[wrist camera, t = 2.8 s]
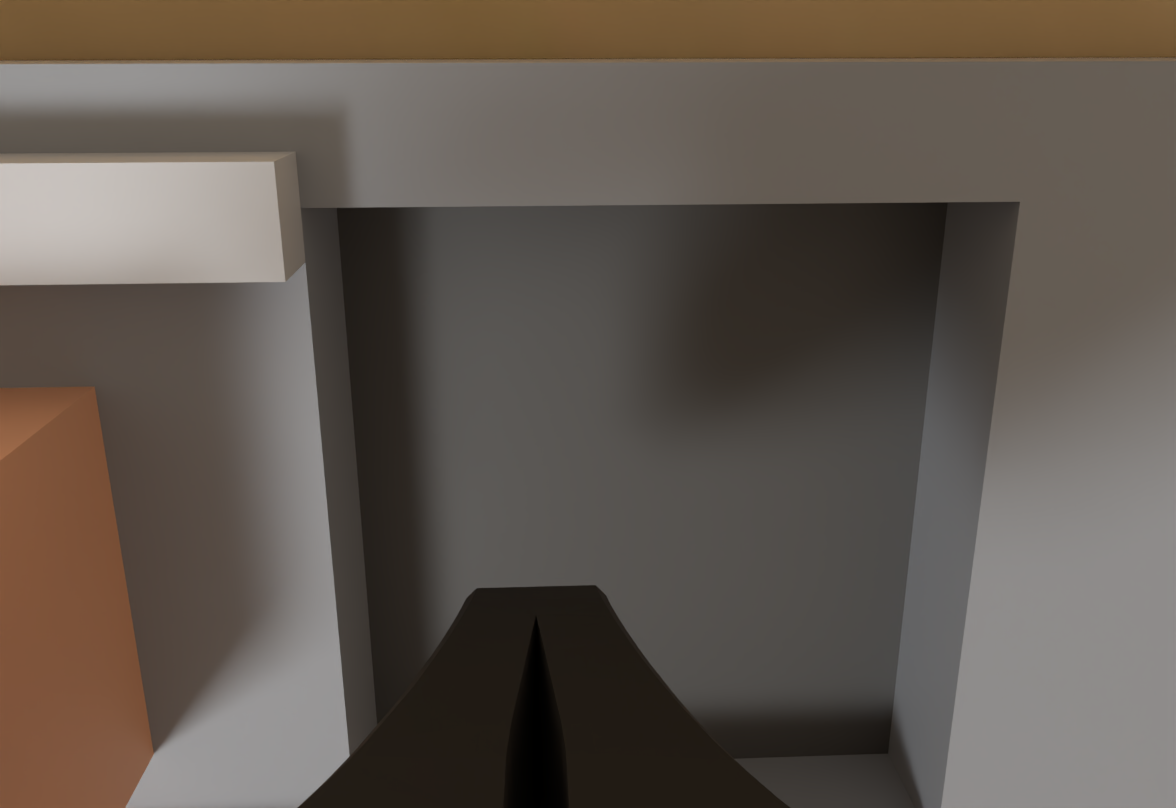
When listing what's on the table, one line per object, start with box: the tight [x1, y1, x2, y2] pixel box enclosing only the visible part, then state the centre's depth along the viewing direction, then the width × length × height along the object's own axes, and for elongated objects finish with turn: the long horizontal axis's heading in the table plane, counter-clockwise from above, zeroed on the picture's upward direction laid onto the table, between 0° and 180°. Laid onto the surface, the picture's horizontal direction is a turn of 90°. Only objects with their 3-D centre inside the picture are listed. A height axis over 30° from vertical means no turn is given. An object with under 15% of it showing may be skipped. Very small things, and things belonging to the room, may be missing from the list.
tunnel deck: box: [0, 58, 1176, 808], centre depth 14 cm, size 12×30×4 cm, turn 90°
